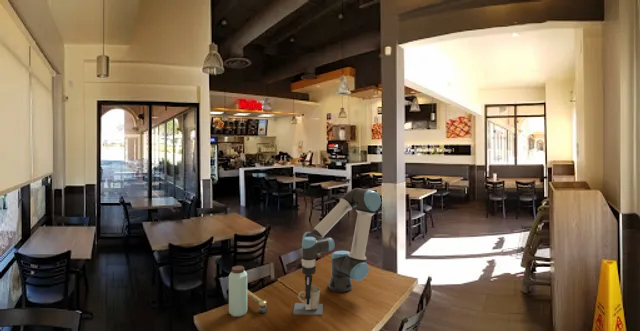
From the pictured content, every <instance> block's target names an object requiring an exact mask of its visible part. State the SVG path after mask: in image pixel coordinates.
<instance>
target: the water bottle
mask: <svg viewBox="0 0 640 331" xmlns="http://www.w3.org/2000/svg"><path fill="white" fill-rule="evenodd" d="M247 290H248V272H247V271H246V270H245V266H243V265H235V266H232V267H231V272H230V273H229V275H228V313H229V314H231V315H230V316H232V317H235V318H236V317H242V316H245V315H246V314H247V312H248V296H247Z"/></svg>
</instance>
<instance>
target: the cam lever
mask: <svg viewBox="0 0 640 331" xmlns="http://www.w3.org/2000/svg"><path fill="white" fill-rule="evenodd" d="M247 297H249V298H250V299H251V300H253V302H255V303H257V304H258V308H259V307H262V308H263V307H266V306H267V304H268V302H267V300H266V299H265V300H263V299H262V298H260V297H259V296H257V295H256V294H255V293H253V291H252V292H251V291H250V290H249V289H247ZM267 307H268V306H267Z"/></svg>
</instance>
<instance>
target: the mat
mask: <svg viewBox="0 0 640 331" xmlns="http://www.w3.org/2000/svg"><path fill="white" fill-rule="evenodd" d="M305 309H306V303H302V302H295V303H294V306H293V311H292V315H295V316H297V315H298V316H299V315H300V316H323V314H324V313H323V310H324V303H318V308H317V309H310V310H305Z"/></svg>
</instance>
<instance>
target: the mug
mask: <svg viewBox="0 0 640 331" xmlns="http://www.w3.org/2000/svg"><path fill="white" fill-rule="evenodd" d="M310 292H311V293H310V297H311V309H317V308H318V304H320V297H321V296H320V295H321V288H320V287H318V286H315V285H311V290H310ZM302 294H305V295H306V288H305V289H304V290H301V291H299V293H298V295H297V296H298V297H297V299H298V300H299V301H300V303H306V300H302V298H301V295H302Z"/></svg>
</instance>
